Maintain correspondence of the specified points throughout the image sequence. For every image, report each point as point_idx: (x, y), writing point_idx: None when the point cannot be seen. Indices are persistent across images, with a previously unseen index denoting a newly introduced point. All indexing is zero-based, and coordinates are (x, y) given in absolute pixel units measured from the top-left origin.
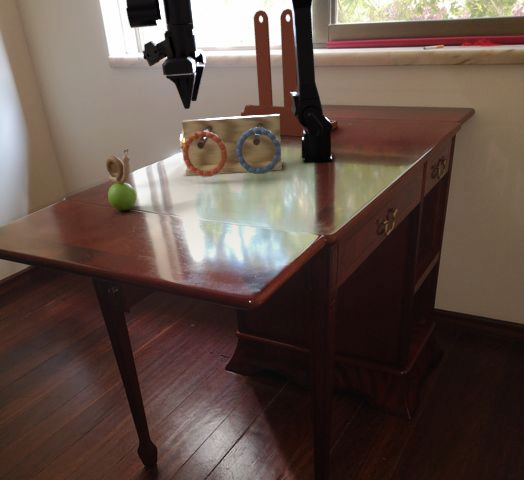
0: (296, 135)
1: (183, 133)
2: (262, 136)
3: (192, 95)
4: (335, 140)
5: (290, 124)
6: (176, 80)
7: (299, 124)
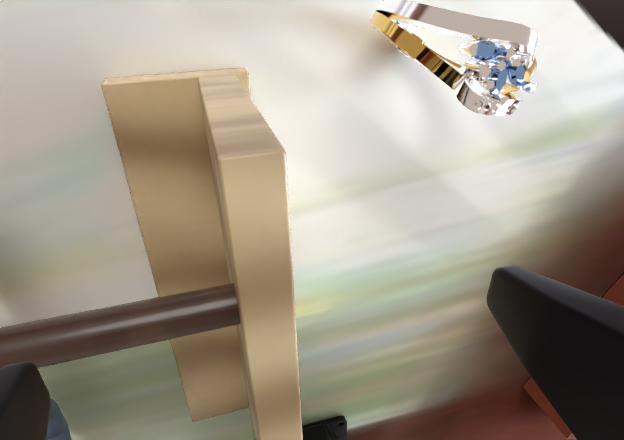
0: None
1: (458, 33)
2: None
3: (530, 314)
4: (473, 430)
5: None
6: None
7: None
